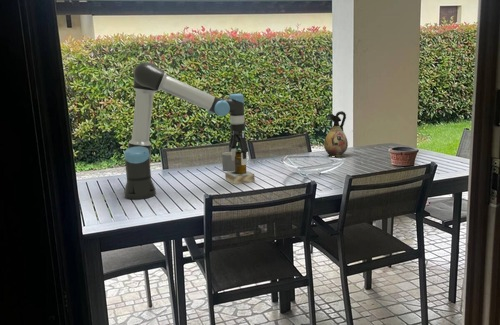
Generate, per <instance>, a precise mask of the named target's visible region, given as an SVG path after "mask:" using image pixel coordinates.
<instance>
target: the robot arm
mask: <svg viewBox="0 0 500 325" xmlns="http://www.w3.org/2000/svg"><path fill="white" fill-rule="evenodd" d="M132 88H133V90H134V91H135V101H134V112H133V123H132V135H131V139H129V141H128V145H127V148H126V149H125V150H124V156H123V157H124V164H125V173H126V184H125V188H124V192H123V193H124V198H125V199H127V200H143V199H144V200H145V199H148V198H152V197H155V196H156V195H157V191H156V187H155V185H154V183H153V179H152V172H151V159H152V158H151V157H152V155H151V154H152V143H151V141H150V134H151V133H150V132H151V123H152V114H153V102H154V94H155V93H157V92H158V91H162V92H165V93H167V94H170V95H171V96H174V97H176V98H179V99H181V100H183V101H186V102H187V103H189V104H193V105H195V106H197V107H200V108H201V109H204V110H207V113H208V114H216V115H217V116H219V117H225V116H227V115H228V114H229V117H230V119H229V121H230V131H231V132H230V140H229V146H228V147H230V152H231V155H232V161H234V160H235V156H236V155H235V154H236V153H235V152H236V151H237V145H238V144H239V148H240V151H241V165H246V166H247V163H248V161H247V157H248V156H247V153H249V148H248V142H247V139H246V138H247V137H246V133H243V131H246V127H245V126H246V125H245V121H246V120H245V118H246V116H245V98H244V95H243V94H242V93H231V94H229V97H228V98H227V97H226V98H219V97H216V96H215V95H212V94H210V93H208V92H206V91H203V90H202V89H199V88H196V87H194V86H192V85H190V84H187V83H186V82H184V81H181V80H178V79H176V78H174V77H171V76H169V75H168V74H167V72H166V71H164V70H161V69H160V68H158V67H156V66H155V64H153V63H152V62H148V61H147V62H146V61H145V62H140V63H138V64H137V65H136V66H135V68H134V69H133V86H132Z"/></svg>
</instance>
